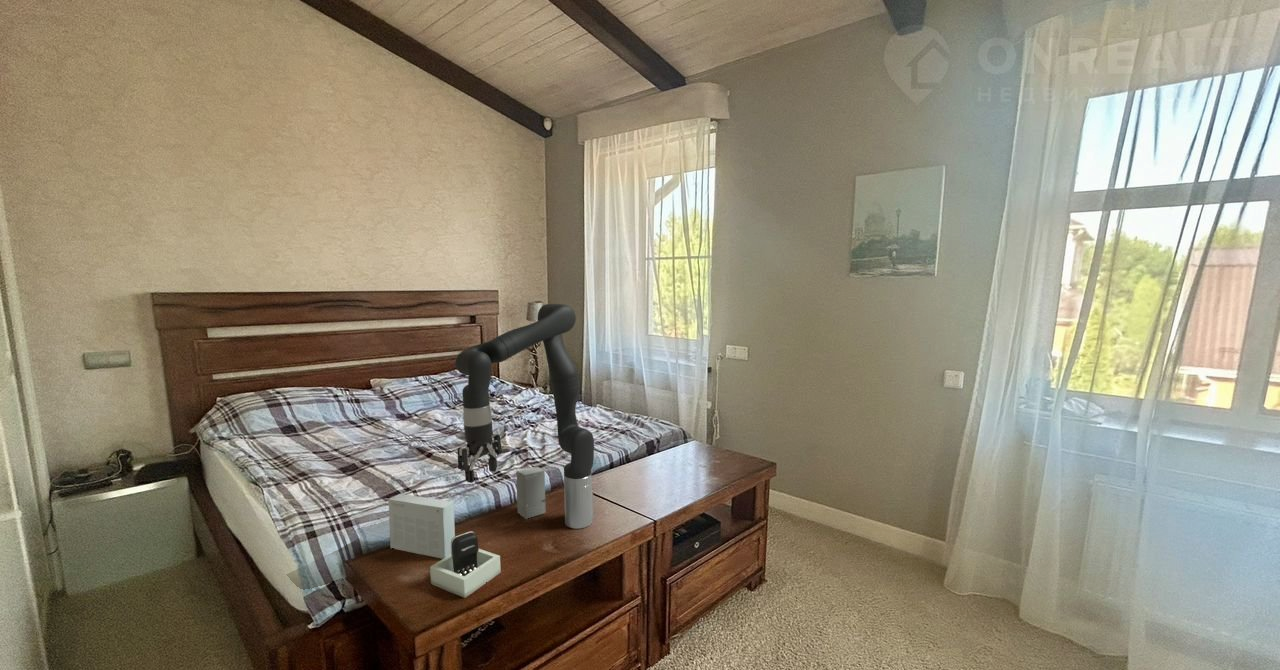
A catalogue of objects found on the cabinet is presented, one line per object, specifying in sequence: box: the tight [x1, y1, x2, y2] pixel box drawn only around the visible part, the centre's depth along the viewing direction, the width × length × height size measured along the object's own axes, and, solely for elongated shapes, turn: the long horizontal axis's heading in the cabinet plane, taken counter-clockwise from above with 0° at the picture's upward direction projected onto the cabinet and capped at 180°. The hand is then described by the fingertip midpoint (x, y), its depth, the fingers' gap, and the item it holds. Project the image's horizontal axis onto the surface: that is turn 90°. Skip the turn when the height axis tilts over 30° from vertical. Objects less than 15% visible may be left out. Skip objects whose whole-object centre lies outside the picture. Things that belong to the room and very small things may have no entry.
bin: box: [429, 548, 502, 599], centre depth 140 cm, size 13×13×5 cm
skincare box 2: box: [515, 465, 546, 520], centre depth 178 cm, size 8×7×16 cm
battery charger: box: [451, 530, 480, 576], centre depth 140 cm, size 7×4×11 cm, turn 131°
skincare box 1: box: [387, 493, 456, 560], centre depth 155 cm, size 21×6×16 cm, turn 71°
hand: (482, 476), depth 143 cm, fingers open, 8 cm apart
